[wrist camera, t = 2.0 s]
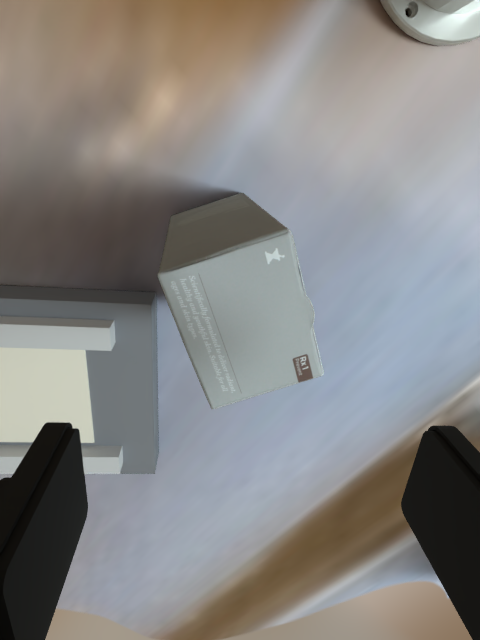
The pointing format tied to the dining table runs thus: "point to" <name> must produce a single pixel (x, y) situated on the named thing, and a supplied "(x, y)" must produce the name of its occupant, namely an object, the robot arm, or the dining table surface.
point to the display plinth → (80, 374)
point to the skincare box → (239, 300)
